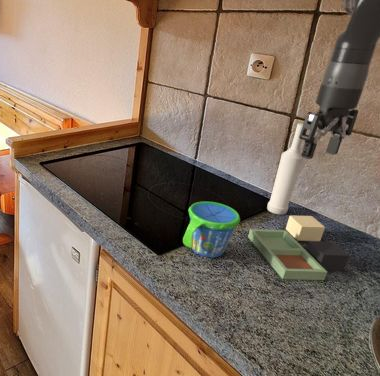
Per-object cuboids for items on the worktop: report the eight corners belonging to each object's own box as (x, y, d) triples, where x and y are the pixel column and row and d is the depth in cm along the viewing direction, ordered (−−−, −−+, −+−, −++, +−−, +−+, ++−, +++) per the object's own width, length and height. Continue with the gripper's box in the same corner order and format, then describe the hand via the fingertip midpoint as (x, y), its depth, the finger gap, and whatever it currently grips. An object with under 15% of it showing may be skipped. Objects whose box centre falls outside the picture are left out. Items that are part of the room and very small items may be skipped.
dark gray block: (328, 256, 93) (333, 241, 92) (343, 270, 88) (349, 255, 87) (303, 255, 94) (308, 240, 92) (318, 270, 88) (323, 254, 87)
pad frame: (283, 237, 100) (285, 230, 99) (324, 280, 85) (327, 271, 84) (247, 236, 100) (249, 229, 100) (282, 279, 85) (285, 270, 84)
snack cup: (197, 270, 87) (206, 230, 83) (164, 246, 96) (171, 208, 92) (248, 253, 94) (258, 215, 89) (212, 232, 102) (221, 196, 98)
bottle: (263, 205, 116) (287, 121, 105) (281, 206, 116) (307, 121, 105) (271, 214, 111) (297, 126, 101) (290, 215, 111) (318, 127, 101)
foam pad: (307, 229, 104) (311, 216, 103) (320, 241, 99) (325, 227, 98) (285, 228, 104) (289, 215, 103) (297, 240, 99) (302, 226, 98)
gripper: (338, 89, 80) (313, 165, 87) (382, 85, 85) (355, 157, 92) (303, 82, 86) (282, 154, 93) (346, 79, 91) (323, 147, 98)
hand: (319, 155), depth 93 cm, fingers open, 8 cm apart
